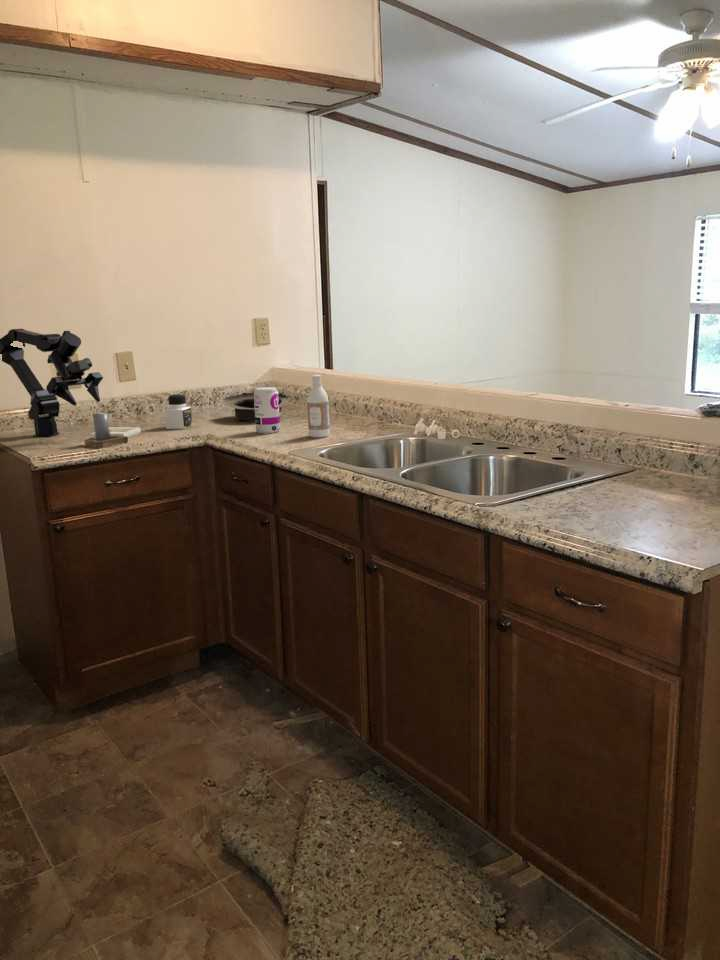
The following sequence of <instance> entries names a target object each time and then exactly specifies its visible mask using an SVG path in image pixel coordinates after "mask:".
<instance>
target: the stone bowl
mask: <svg viewBox="0 0 720 960" xmlns="http://www.w3.org/2000/svg"><path fill="white" fill-rule="evenodd" d="M254 392H255V391H253V392H248V393H247V392H242V393H241V394H235V395H230V396H226V397H225V398H223V402H224V405H225V406H227V407H230V408H232V409H234V415H235V418H236V420H237V419H238V421H246V422H249V421H250V422H249V423H253V421H254V422H255V405H254ZM278 399H279V414H280V412H282V407H285V406H287V405H289V404H290V400H289V399H288V396H287V395H285V394H283V393H281V392H278Z"/></svg>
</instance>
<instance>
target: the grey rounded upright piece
mask: <svg viewBox="0 0 720 960" xmlns="http://www.w3.org/2000/svg"><path fill="white" fill-rule="evenodd" d="M92 418H93V419H92V420H93V427H94V432H95V438H96V439H95V440H96V441H103V440H108V439H110V429H109V427H110V421H109V413H108V412H95V413H93V414H92Z"/></svg>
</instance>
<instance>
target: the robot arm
mask: <svg viewBox="0 0 720 960" xmlns="http://www.w3.org/2000/svg"><path fill="white" fill-rule="evenodd" d="M13 341H19V342H22V343H23V346H24V347H25V348H26V344H27V345H31V346H34V347H36V349H37V350H39V351H41V352H43V353H47V352H48V353H49V352H51V353H50V354H49V355H48V357H47V361H46V362H47V364H53V366H54V368H55V370H56V371H57V372H56V375H57V376H54V377H51V378H50V380H49V382H48V383H47V385H46V387H45V388H46V389H45V388H44V387H43V386H42V383H40V381H39V379H38V378H37V376H36V375H35V374H34V372H33V371H32V369H31V368H30V366H29V365H28V363H27V361H26V360H25V358H24V356H25V355H24V354H25V351H24V349H22V348H18V347H13V346H11V345H10V344H11V343H13ZM81 344H82V339H81V337H79V336H78V335H76V334H74V333H72V332H71V331H70V330H64V331H63V332H62V334H60V333H45V334H43V333H39V332H35V331H30V330H26V329H24V328H11V329H9V330H8V332H7V333H6V334H5V335H4V336H2V337H1V338H0V354H2V360H1V362H2V363H5V364H7V365H9V366H10V367H11V368H12V370H13V371H14V373H15V375H16V376H17V379H19V381H20V382H21V384H22V385H23V387H24V388H25V390H26V391H27V393H28V395H29V396H30V409H29V410H28V413H27V415H28V419H29V420H33V423H34V432H35V434H33V435H32V437H35V436H44V437H43V438H45V436H49V437H52V435H53V436H56V435H58V434H60V432H59V431H58V427H57V426H58V424H57V421H56V417H57V418H58V417H59V416H60V406H61V404H60V401H59V400H58V398H60V399H62V400H63V401H66V402H68V403H69V404H71V405H72V406H73V407H74V406H77V402H76V399H75V397H74V396H73V394H72V393H71V391H70V389H69V387H73V386H82V385H84V388H87V389H86V391H87V393H89V394H90V395H91V397H92V398H93V399H94V400H95V401H96V402H97V403H99V402H100V401H101V397H100V392H99V384H100V383H101V382H102V380H103V379H104V377H103V375H102V374H101V372H98V371H96V372H89V373H88V375H87V376H86V377H84V375H85V374H86V373H85V372H86V371H88V370H90V369H91V368H92V367H93V363H92V361H91V359H90V358H89V357H84V358H83V359H80V360H74V361H73V360H72V359H71V357H73V356H75V354H76V352H77V351H78V349H79V347H80V346H81Z"/></svg>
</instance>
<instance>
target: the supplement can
mask: <svg viewBox="0 0 720 960" xmlns="http://www.w3.org/2000/svg"><path fill="white" fill-rule="evenodd" d="M253 392H254V405H255V421H254V422H255V431H256V432H257V433H258V434H262V433H264V434H265V435H266V434H267V435H269V434H268V433H270V434H275V433H276V434H277V433H279V431H280V430H281V424H280V423H281V422H280V413H279V399H278V393H279V391H278V389H277V387H273V386H265V387H264V386H262V387H261V386H260V387H256V388H255V389H254V391H253Z"/></svg>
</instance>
